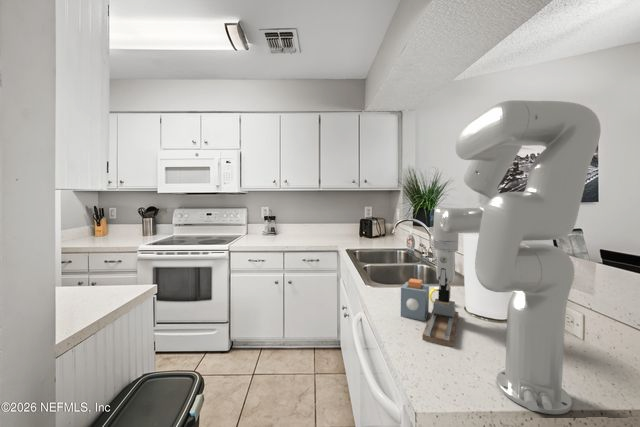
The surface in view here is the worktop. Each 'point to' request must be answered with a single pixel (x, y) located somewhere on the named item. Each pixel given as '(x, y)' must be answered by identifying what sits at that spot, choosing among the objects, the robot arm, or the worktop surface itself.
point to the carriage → (444, 306)
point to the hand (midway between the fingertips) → (444, 299)
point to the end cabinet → (415, 302)
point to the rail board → (441, 329)
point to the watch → (432, 292)
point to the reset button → (415, 283)
